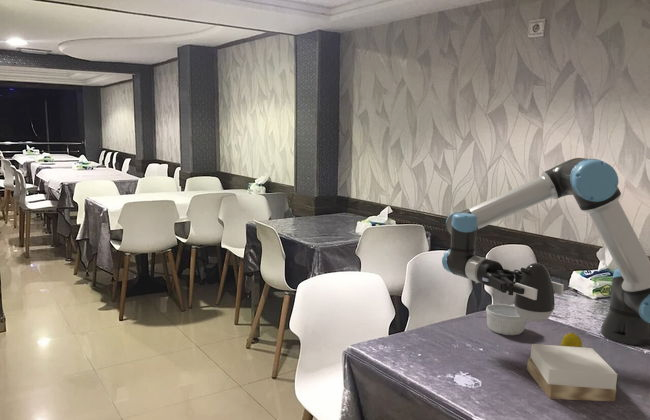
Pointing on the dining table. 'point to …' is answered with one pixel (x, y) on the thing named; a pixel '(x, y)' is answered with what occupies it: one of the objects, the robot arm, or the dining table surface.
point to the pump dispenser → (545, 301)
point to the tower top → (573, 366)
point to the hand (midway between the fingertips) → (549, 292)
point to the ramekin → (504, 319)
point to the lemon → (571, 340)
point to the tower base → (569, 388)
